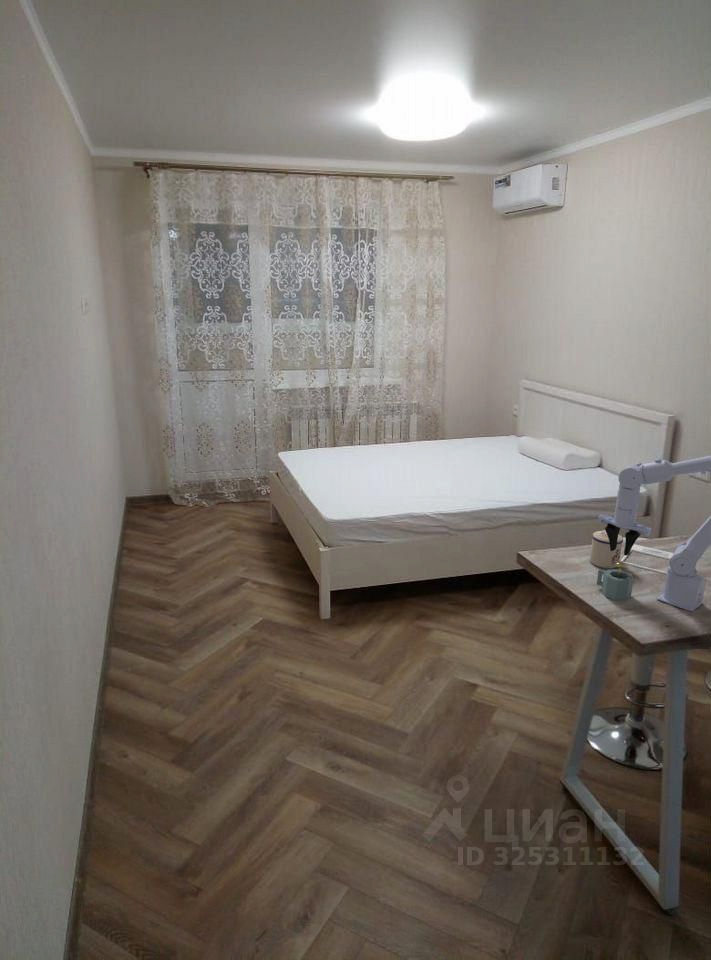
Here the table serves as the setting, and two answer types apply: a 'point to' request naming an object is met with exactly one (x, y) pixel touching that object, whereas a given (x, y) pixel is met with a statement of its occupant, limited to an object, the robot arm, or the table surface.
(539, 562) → the table surface
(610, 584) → the tea press body
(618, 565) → the plunger
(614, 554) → the teacup with lid
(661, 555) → the photo frame
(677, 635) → the table surface
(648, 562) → the table surface
